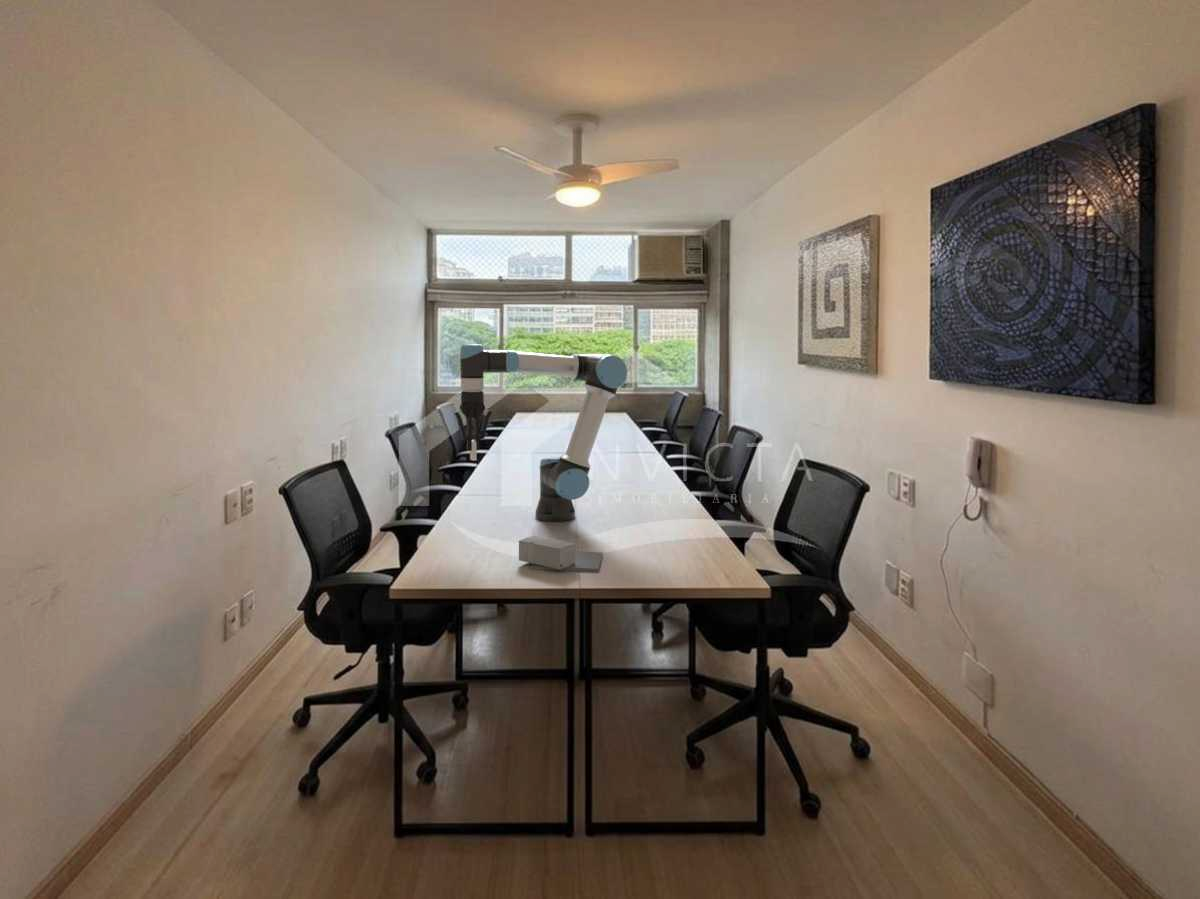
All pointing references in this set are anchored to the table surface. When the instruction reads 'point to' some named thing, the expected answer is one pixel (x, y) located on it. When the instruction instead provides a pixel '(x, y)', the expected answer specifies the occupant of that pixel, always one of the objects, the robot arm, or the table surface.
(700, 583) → the table surface
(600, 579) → the table surface
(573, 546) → the skincare box
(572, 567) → the slate mat
